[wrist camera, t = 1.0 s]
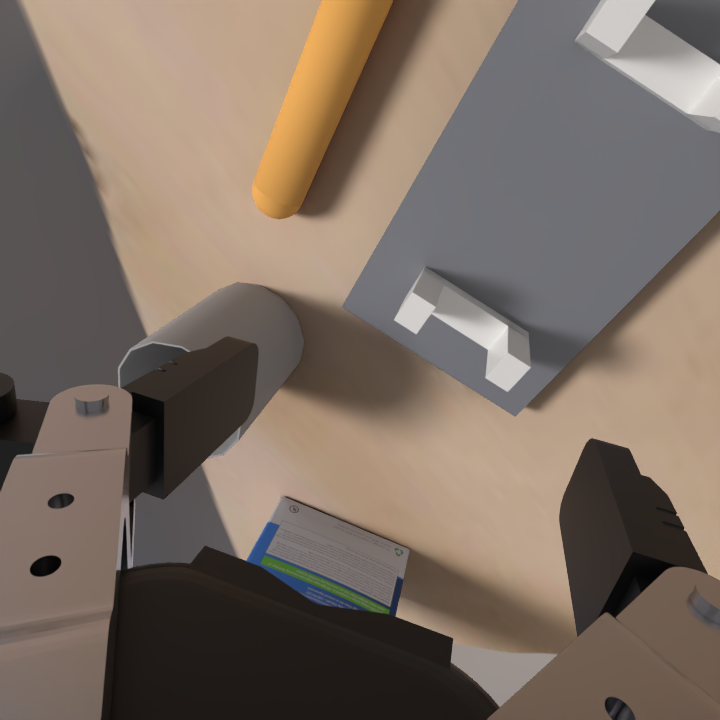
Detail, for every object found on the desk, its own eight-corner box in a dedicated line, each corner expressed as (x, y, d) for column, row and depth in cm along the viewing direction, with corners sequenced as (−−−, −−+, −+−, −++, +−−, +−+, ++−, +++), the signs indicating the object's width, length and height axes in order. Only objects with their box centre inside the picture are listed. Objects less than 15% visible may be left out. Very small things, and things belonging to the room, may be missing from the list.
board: (348, 299, 34) (319, 335, 29) (597, -131, 21) (624, -204, 16) (515, 404, 34) (515, 458, 29) (862, 47, 21) (972, 32, 16)
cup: (314, 379, 38) (257, 461, 29) (225, 382, 40) (149, 457, 32) (287, 276, 34) (214, 337, 26) (191, 287, 37) (96, 344, 28)
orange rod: (299, 222, 32) (280, 234, 29) (259, 196, 32) (236, 206, 29) (509, -238, 20) (509, -289, 17) (445, -281, 20) (435, -339, 17)
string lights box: (269, 540, 49) (76, 896, 27) (282, 491, 45) (67, 863, 23) (390, 593, 48) (289, 1009, 26) (415, 547, 44) (319, 996, 22)
